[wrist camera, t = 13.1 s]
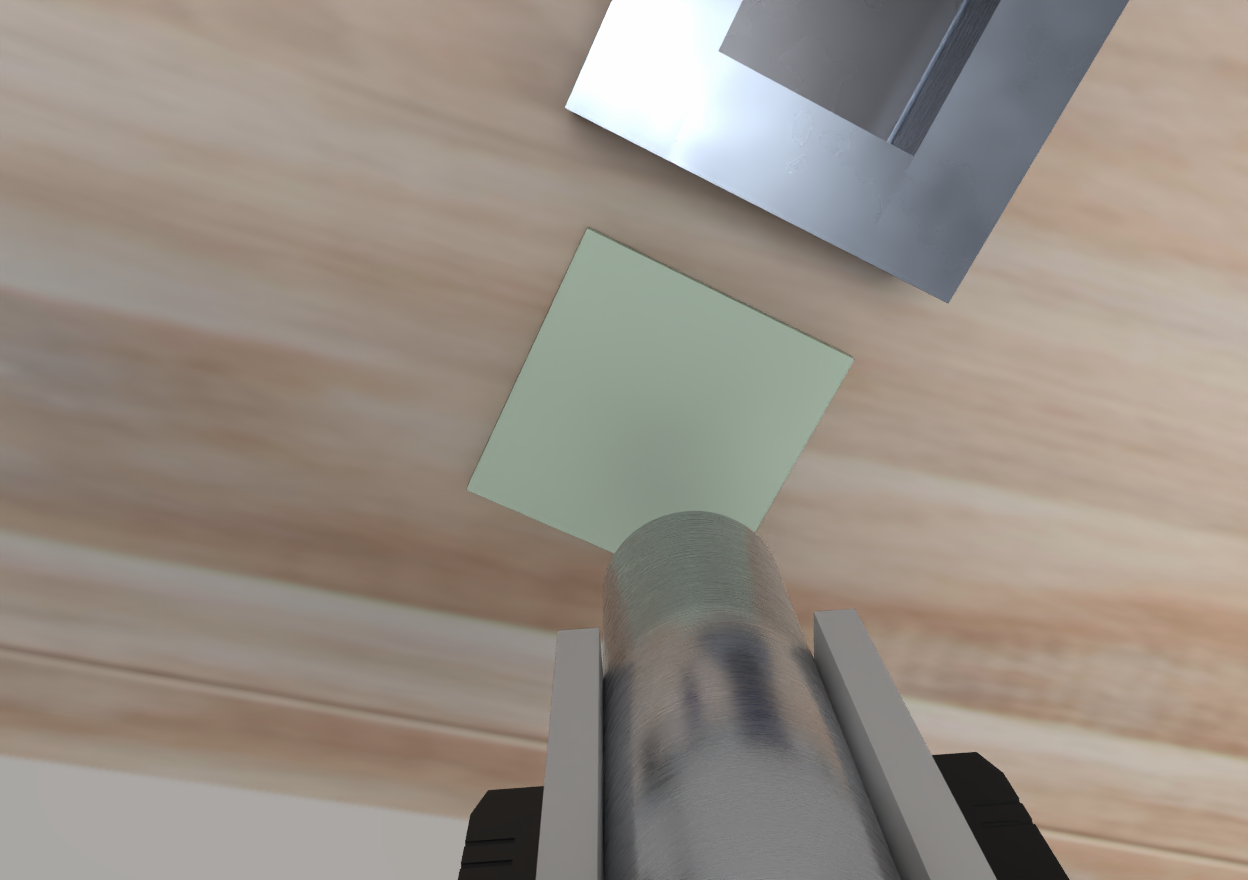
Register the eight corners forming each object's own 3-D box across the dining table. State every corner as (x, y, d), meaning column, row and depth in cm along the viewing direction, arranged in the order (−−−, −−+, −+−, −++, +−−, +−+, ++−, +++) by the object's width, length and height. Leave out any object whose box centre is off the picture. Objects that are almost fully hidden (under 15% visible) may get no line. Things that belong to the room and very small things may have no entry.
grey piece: (596, 518, 20) (581, 1320, 7) (778, 504, 20) (1140, 1279, 7) (609, 675, 22) (621, 1624, 8) (781, 663, 22) (1090, 1589, 8)
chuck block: (570, 110, 29) (564, 107, 24) (751, -300, 26) (785, -396, 21) (895, 276, 31) (948, 303, 26) (1102, -86, 28) (1205, -129, 23)
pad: (468, 483, 33) (466, 489, 33) (587, 226, 30) (587, 228, 30) (715, 590, 35) (717, 597, 34) (850, 355, 32) (854, 359, 31)
